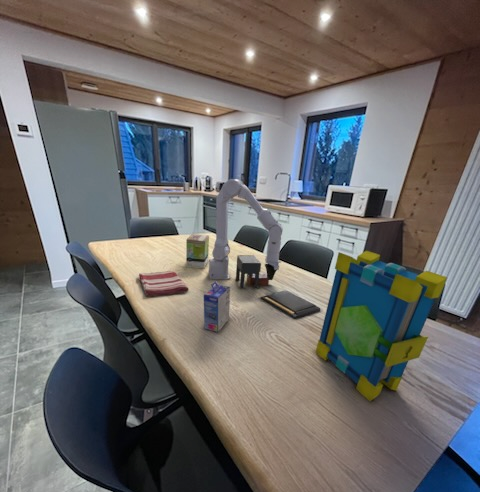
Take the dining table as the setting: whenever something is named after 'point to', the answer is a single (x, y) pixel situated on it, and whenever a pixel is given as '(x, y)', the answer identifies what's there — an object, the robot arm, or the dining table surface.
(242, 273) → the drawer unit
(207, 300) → the ink cartridge box
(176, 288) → the dish towel
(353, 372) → the decorative book
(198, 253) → the tea box
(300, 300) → the wallet
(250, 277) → the storage box
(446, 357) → the dining table surface
